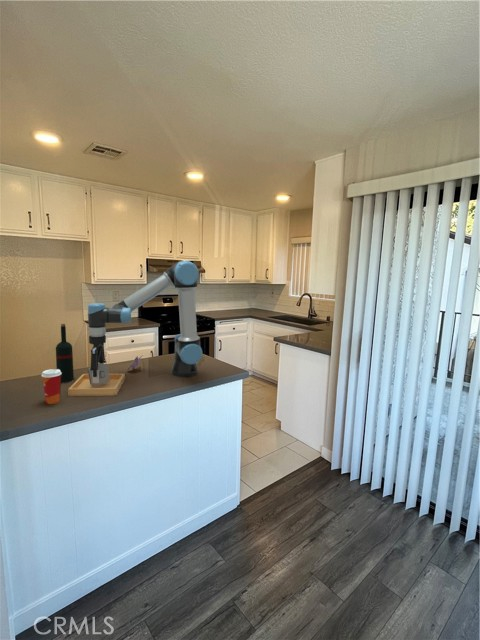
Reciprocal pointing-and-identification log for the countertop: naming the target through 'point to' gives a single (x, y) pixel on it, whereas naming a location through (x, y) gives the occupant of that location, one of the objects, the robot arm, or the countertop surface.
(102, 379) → the electrical switch
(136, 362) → the lily
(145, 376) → the countertop surface
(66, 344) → the wine bottle
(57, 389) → the paper cup
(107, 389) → the wooden tray
